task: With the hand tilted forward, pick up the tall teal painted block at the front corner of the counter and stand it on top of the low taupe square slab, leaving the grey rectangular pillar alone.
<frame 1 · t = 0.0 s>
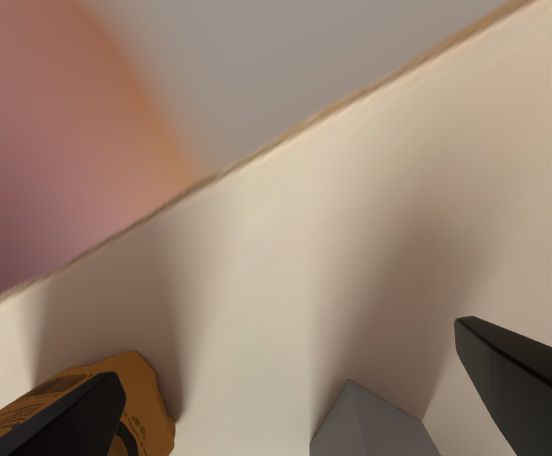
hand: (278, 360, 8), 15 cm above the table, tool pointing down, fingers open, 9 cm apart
grey rectangular pillar: (364, 433, 24), on the table
coffee package: (107, 414, 26), on the table
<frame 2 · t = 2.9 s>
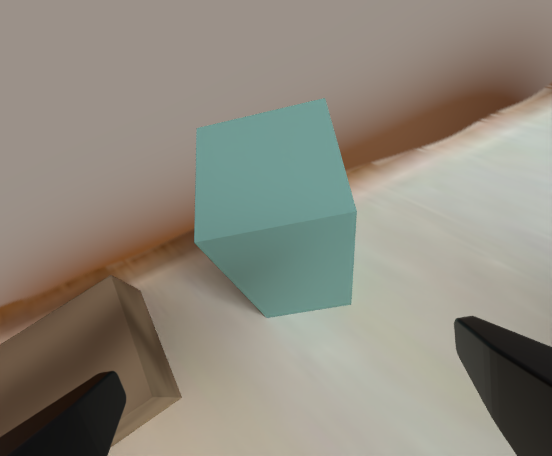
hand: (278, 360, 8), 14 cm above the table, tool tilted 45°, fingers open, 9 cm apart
teal pillar: (301, 271, 24), on the table
taupe square slab: (107, 375, 23), on the table
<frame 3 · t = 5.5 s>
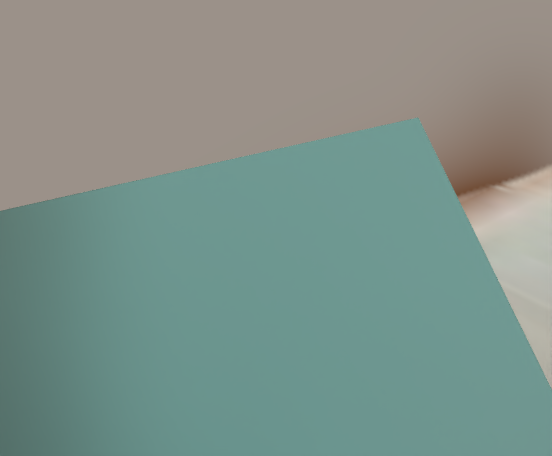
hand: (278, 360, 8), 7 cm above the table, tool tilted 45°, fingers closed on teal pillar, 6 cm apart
teal pillar: (310, 414, 13), on the table, touching gripper
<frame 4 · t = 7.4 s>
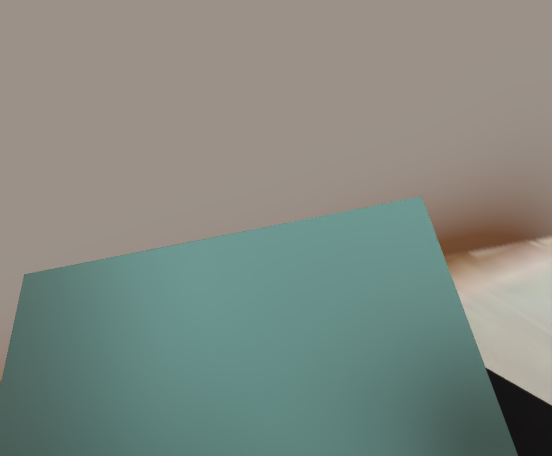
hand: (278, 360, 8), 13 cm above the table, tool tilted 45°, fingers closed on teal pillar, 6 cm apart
teal pillar: (312, 395, 15), point 6 cm above the table, touching gripper
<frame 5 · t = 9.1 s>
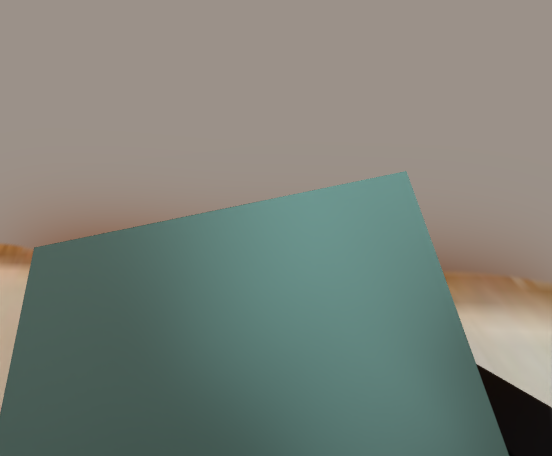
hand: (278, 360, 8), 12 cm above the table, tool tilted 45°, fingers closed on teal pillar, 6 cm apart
teal pillar: (309, 383, 15), point 4 cm above the table, tilted 6°, touching gripper
when the fingers open (12 cm above the table, at t = 9.2 s): teal pillar stays where it is, point 4 cm above the table.
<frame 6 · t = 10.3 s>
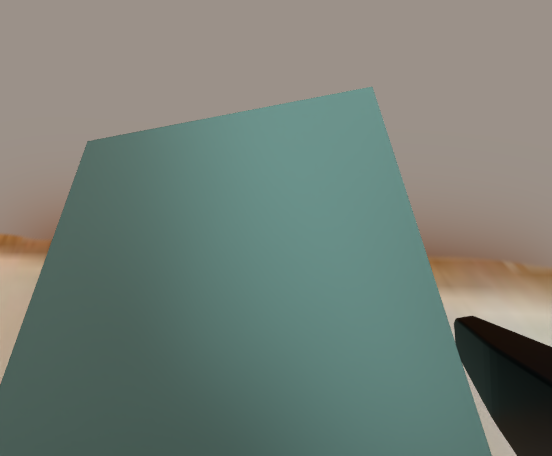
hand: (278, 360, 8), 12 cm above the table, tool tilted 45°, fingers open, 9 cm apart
teal pillar: (303, 360, 15), point 4 cm above the table
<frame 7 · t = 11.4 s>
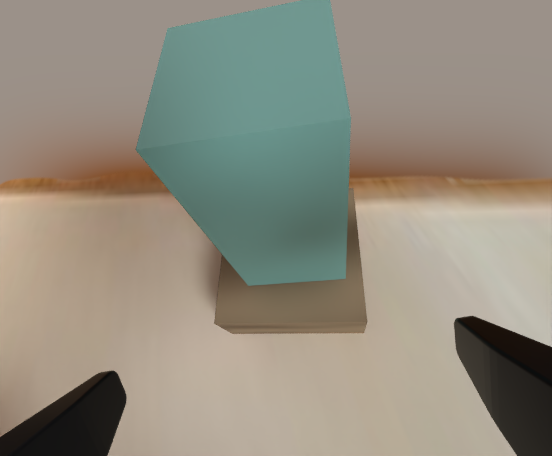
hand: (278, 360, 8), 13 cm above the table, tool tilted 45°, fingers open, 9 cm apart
teal pillar: (293, 238, 21), point 4 cm above the table
taupe square slab: (296, 272, 24), on the table
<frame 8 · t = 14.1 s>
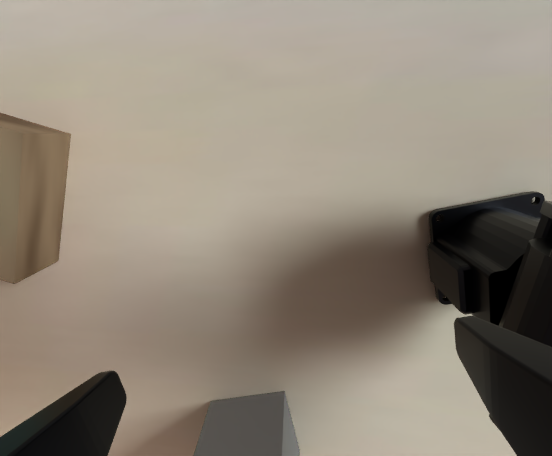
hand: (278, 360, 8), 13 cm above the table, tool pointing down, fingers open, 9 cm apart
grey rectangular pillar: (255, 425, 26), on the table
taupe square slab: (2, 181, 21), on the table
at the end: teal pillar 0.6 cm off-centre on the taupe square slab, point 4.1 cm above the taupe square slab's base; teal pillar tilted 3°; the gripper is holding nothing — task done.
